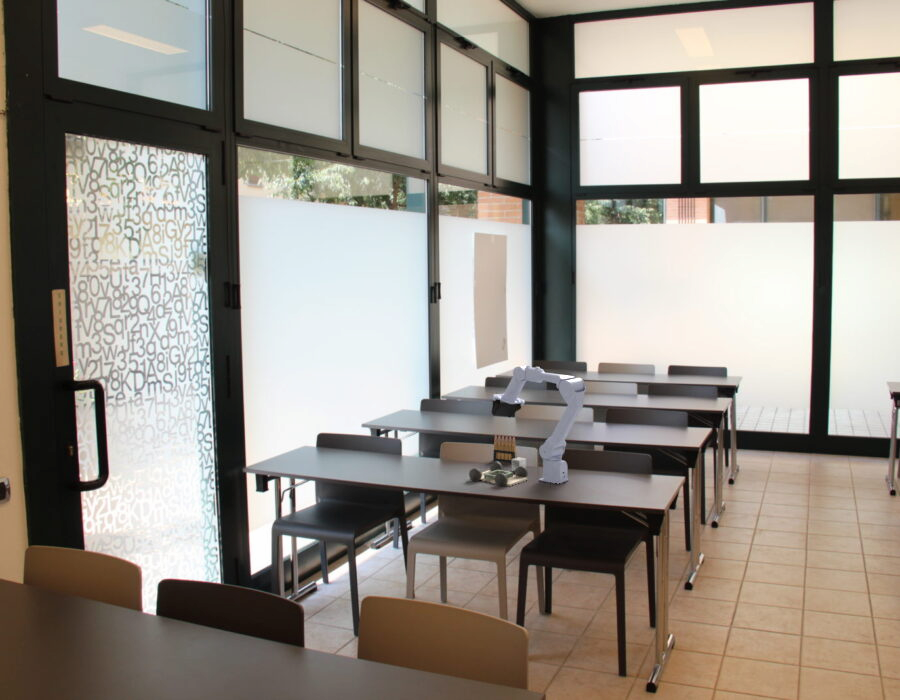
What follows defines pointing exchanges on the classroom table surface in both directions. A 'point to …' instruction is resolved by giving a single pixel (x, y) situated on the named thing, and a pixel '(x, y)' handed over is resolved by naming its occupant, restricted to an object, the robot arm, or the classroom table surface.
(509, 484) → the chassis
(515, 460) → the engine block
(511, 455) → the ammunition clip
